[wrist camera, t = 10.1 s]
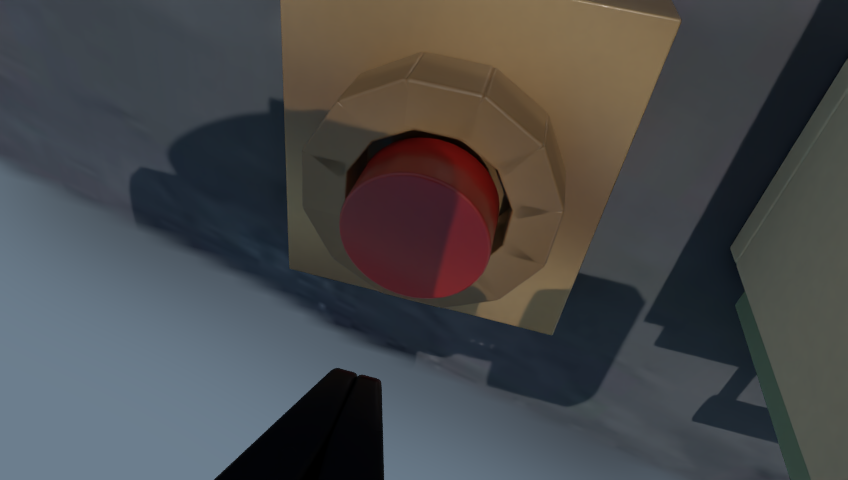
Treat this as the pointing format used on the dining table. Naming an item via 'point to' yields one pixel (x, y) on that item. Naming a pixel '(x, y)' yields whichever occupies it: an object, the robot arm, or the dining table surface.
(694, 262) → the dining table surface
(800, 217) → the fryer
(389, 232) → the red button
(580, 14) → the control block
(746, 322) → the drawer
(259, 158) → the dining table surface
